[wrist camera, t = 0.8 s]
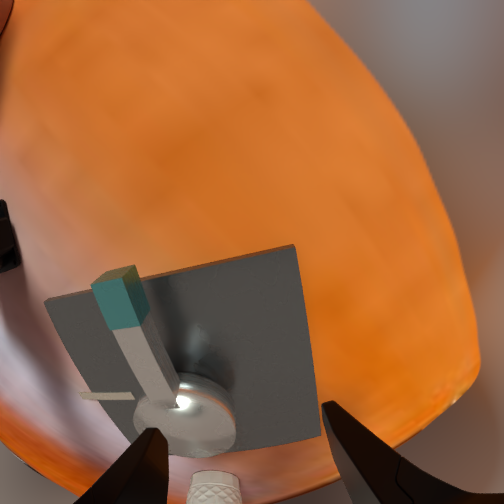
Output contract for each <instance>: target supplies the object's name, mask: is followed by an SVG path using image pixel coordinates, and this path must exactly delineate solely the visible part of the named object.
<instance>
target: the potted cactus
mask: <svg viewBox="0 0 504 504" xmlns="http://www.w3.org/2000/svg"><path fill="white" fill-rule="evenodd" d="M12 3H13V0H0V34H1V32H2V30H3V28H4V25H5V23H6V21H7V18H8V16H9V13H10V10H11V7H12Z"/></svg>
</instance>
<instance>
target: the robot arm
mask: <svg viewBox="0 0 504 504" xmlns="http://www.w3.org/2000/svg"><path fill="white" fill-rule="evenodd" d="M20 263H21V262H20V258H19V255H18V252H17V248H16V245H15V241H14V238H13V234H12V231H11V227H10V223H9V219H8V214H7V210H6V205H5V201H4V200H3V199H1V200H0V273H3V272H5V271H8V270H10V269H13V268H16V267H18V266H19V265H20ZM321 407H322V417H323V423H324V426H325V430H326V434H327V438H328V441H329V445H330V449H331V452H332V456H333V459H334V461H335V464H336V466H337V469H338V471H339V473H340V476H341V478H342V480H343V482H344V484H345V487H346V489H347V492H348V494H349V496H350V498H351V501H352V503H353V504H504V493H492V494H491V493H486V494H483V493H481V494H480V493H471V492H467V491H464V490H461V489H459V488H457V487H455V486H452V485H450V484H448V483H446V482H444V481H442V480H440V479H438V478H436V477H434V476H432V475H430V474H428V473H427V472H425V471H423V470H421V469H419V468H418V467H417V466H415V465H414V464H412V463H411V462H410V461H408V460H407V459H406V458H404V457H401V455H400V454H399V453H398V452H396V451H395V450H394V449H392V448H391V447H390V446H389V445H387V444H386V443H385V442H383V441H382V440H381V439H380V438H378V437H377V436H376V435H375V434H373V433H372V432H371V431H370V430H369V429H367V428H366V427H365V426H364V425H362V424H361V423H360V422H359V421H358V420H356V419H355V418H354V417H353V416H352V415H350V414H349V413H348V412H347V411H346V410H344V409H343V408H342V407H341V406H340V405H339V404H337V403H336V402H335V401H333V400H332V401H328V402H325V403H322V405H321ZM168 483H169V459H168V441H167V439H166V438H165V437H164V435H163V434H162V433H161V431H160V430H159V429H158V428H157V427H148V428H146V429H145V430H144V431H143V432H142V433H141V434H140V435H139V436H138V437H137V439H136V440H135V441H134V442H133V443H132V444H131V445H130V446H129V447H128V448H127V449H126V451H125V452H124V453H123V454H122V455H121V456H120V457H119V458H118V459H117V460H116V461H115V462H114V463H113V464H112V465H111V467H110V468H109V469H108V470H107V471H106V472H105V473H104V474H103V475H102V476H101V477H100V478H99V479H98V480H97V481H96V482H95V483H94V484H93V485H92V487H90V488H89V489H88V490H87V491H86V492H85V493H84V494H83V495H82V496H81V497H80V498H79V499H78V500H77V501H76V502H74V503H73V504H167V494H168Z"/></svg>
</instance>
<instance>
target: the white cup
mask: <svg viewBox="0 0 504 504" xmlns="http://www.w3.org/2000/svg"><path fill="white" fill-rule="evenodd" d="M186 504H242V496H241V494H240V483H239V479H238V477H236V476H234V475H233V474H230V473H227V472H223V471H213V470H209V471H200V472H197V473H194V474H193V476H192V477H191V481H190V488H189V491H188V495H187V501H186Z"/></svg>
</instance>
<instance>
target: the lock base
mask: <svg viewBox="0 0 504 504" xmlns="http://www.w3.org/2000/svg"><path fill="white" fill-rule="evenodd" d="M140 281H141V283H142V286H143V289H144V292H145V294H146V297H147V300H148V302H149V305H150V308H151V309H150V313H151V316H152V318H153V321H154V323H155V326H156V328H157V330H158V333H159V335H160V337H161V340H162V342H163V344H164V347H165V349H166V351H167V353H168V356H169V358H170V360H171V362H172V364H173V366H174V368H175V371H176V373H189V374H194V375H198V376H202V377H205V378H207V379H210V380H212V381H214V382H216V383H217V384H219V385H220V386H222V387H223V388H224V389H225V390H226V391H227V392H228V393H229V394H230V395H231V397H232V398H233V400H234V403H235V408H236V439H235V442H234V444H233V445H232V446H231V447H230V448H229V449H228V450H227V451H225V452H223V453H227V452H237V451H245V450H252V449H259V448H265V447H271V446H277V445H282V444H287V443H292V442H297V441H301V440H305V439H310V438H314V437H318V436H321V428H320V418H319V409H318V399H317V391H316V382H315V374H314V366H313V358H312V351H311V343H310V336H309V329H308V322H307V315H306V309H305V302H304V296H303V290H302V284H301V278H300V272H299V266H298V260H297V254H296V249H295V246H294V245H293V244H291V245H286V246H282V247H277V248H273V249H268V250H264V251H260V252H255V253H251V254H246V255H242V256H237V257H233V258H228V259H224V260H219V261H215V262H210V263H206V264H201V265H197V266H193V267H188V268H184V269H179V270H175V271H170V272H166V273H161V274H157V275H152V276H148V277H143V278H140ZM44 304H45V307H46V309H47V311H48V313H49V316H50V318H51V320H52V322H53V324H54V326H55V328H56V330H57V332H58V334H59V336H60V338H61V340H62V342H63V344H64V346H65V348H66V350H67V351H68V353H69V355H70V357H71V359H72V360H73V362H74V364H75V366H76V367H77V369H78V371H79V372H80V374H81V375H82V377H83V379H84V380H85V382H86V383H87V385H88V387H89V388H90V390H91V391H92V392H78V393H79V394H80V396H81V397H82V398H83V399H92V400H98V401H99V403H100V404H101V406H102V407H103V409H104V410H105V411H106V413H107V414H108V415H109V417H110V418H111V419H112V421H113V422H114V423H115V425H116V426H117V427H118V428H119V430H120V431H121V432H122V433H123V435H124V436H125V437H126V438H127V439H128V441H129V442H130V443H131V444H132V443H133V442H134V441H135V440H136V439H137V437H138V436H139V435H140V434H139V433H138V432H137V430H136V428H135V426H134V423H133V416H134V413H135V410H136V407H137V404H138V402H139V399H140V396H141V393H142V391H143V388H142V387H141V385H140V383H139V381H138V380H137V378H136V376H135V374H134V372H133V371H132V369H131V367H130V365H129V363H128V361H127V359H126V358H125V356H124V354H123V352H122V350H121V348H120V346H119V344H118V342H117V340H116V338H115V335H114V333H113V331H112V330H109V328H108V326H107V323H106V321H105V319H104V317H103V314H102V312H101V310H100V307H99V305H98V303H97V300H96V298H95V295H94V293H93V290H92V289H89V290H85V291H80V292H76V293H71V294H67V295H62V296H58V297H53V298H49V299H47V300H46V301H45V302H44ZM168 455H173V454H170V453H168Z"/></svg>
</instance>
